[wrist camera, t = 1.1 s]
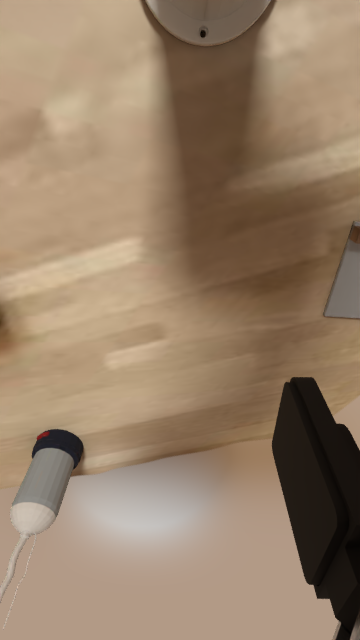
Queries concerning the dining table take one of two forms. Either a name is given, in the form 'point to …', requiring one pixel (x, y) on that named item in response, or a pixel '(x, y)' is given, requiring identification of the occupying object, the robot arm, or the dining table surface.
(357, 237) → the stop bar
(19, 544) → the grey tall flared piece
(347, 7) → the dining table surface
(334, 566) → the robot arm
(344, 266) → the mat
